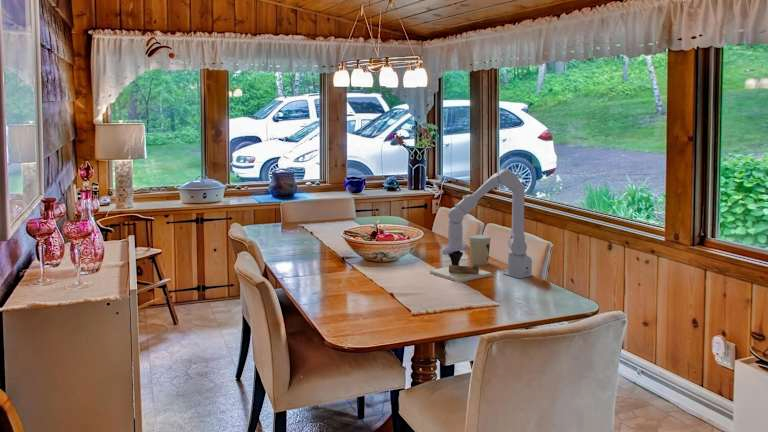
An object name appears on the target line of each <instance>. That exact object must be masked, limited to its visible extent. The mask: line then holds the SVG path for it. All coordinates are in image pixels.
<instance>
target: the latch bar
mask: <svg viewBox="0 0 768 432" xmlns="http://www.w3.org/2000/svg"><path fill="white" fill-rule="evenodd" d="M460 265H461V264H459V265H452V264H449V265H448V267H449V272H457V273H476V274H478V273H479V269H480V265H474V264H473V265H466V266H460Z"/></svg>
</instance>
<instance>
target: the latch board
mask: <svg viewBox="0 0 768 432" xmlns="http://www.w3.org/2000/svg"><path fill="white" fill-rule="evenodd" d="M459 265H460V266H467V265H464V264H459ZM428 272H430V273H429V274H431V273H433V274H432V275H434V274H436V275H435V276H437V275H439V276H438V277H440V276H442V277H441V278H443V277H445V278H444V279H446V278H448V279H447V280H450V279H451V281H453V280H454V281H453V282H456V281H457V282H456V283H461V282H467V281H472V280H478V279H481V278H486V277H491V276H492V272H489V271H487V270H484V269H483V270H482V269H480V268H479V273H478V274H476V273H457V272H449V266H445V267H440V268H435V269H430V270H429V271H428Z"/></svg>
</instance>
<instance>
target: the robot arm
mask: <svg viewBox="0 0 768 432" xmlns="http://www.w3.org/2000/svg"><path fill="white" fill-rule="evenodd" d="M501 186H503V187H506V188H508V190H510V191H511V193H512V196H511V198H512V199H511V202H512V204H511V231H510V237H509V239H508V241H507V244H508V247H509V251H508V252H507V254H508V255H507V256H508V257H507V271H505V272H503V273H502V274H503V275H506V276H510V277H514V278H516V279H523V278H528V277H533V276H534V275H533V274H532V270H533V265H532V264H533V260H532V258H531V257H530V256H529V255H527V249H528V245H527V243H526V238H525V237H526V235H525V192H526V191H525V186H524V185H523V183H522V182H521V180H520V179H519V177H518V176H517V175H516V174H515V173H514V172H512V171H511V170H510V169H508V168H503V167H502V168H500V169H499V170H498V171H497V172H495V173H493V174H492V175H491V176H490V177H489V178H488V179H486V180H485V182H484V183H483V184H482V185H481V186H479V187H478V189H477V190H475V192H473V193H472V194H470V193H469V194H466V195H463V196H462V199H461V200H459V202H458V203H455V204H454V207H451V208H450V209H449V211H448V213H447V216H448V218H449V219H448V229H447V230H448V244H447V246H446V247H445V248H444V249H442V256H443V255H444V256H448V257H449V258H450V261H451V265H460V260H461V258H462V257H463V254H464V253H463V252H462V251H464V250H468V249H469V245H468V244H464V243H463V220H464V216H467V215H468V214H469V213H470V212H471V211H472V210H473V209H475V208H476V207H477V206H478V202H479V200H480V199H481V198H483V197H484V196H485V195H486V194H487V193H488V192H490V191H491V190H492V189H494V188H500V187H501Z"/></svg>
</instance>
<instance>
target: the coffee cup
mask: <svg viewBox="0 0 768 432" xmlns="http://www.w3.org/2000/svg"><path fill="white" fill-rule="evenodd" d="M468 240H469V258H470V259H469V260H470V261H469V262H470V265H471V264H472V265H473V266H474V265H476V266H485V265H488V264H489V259H490V257H489V256H490V248H491V236H490V235H487V234H471V235H470V236H469V238H468Z"/></svg>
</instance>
